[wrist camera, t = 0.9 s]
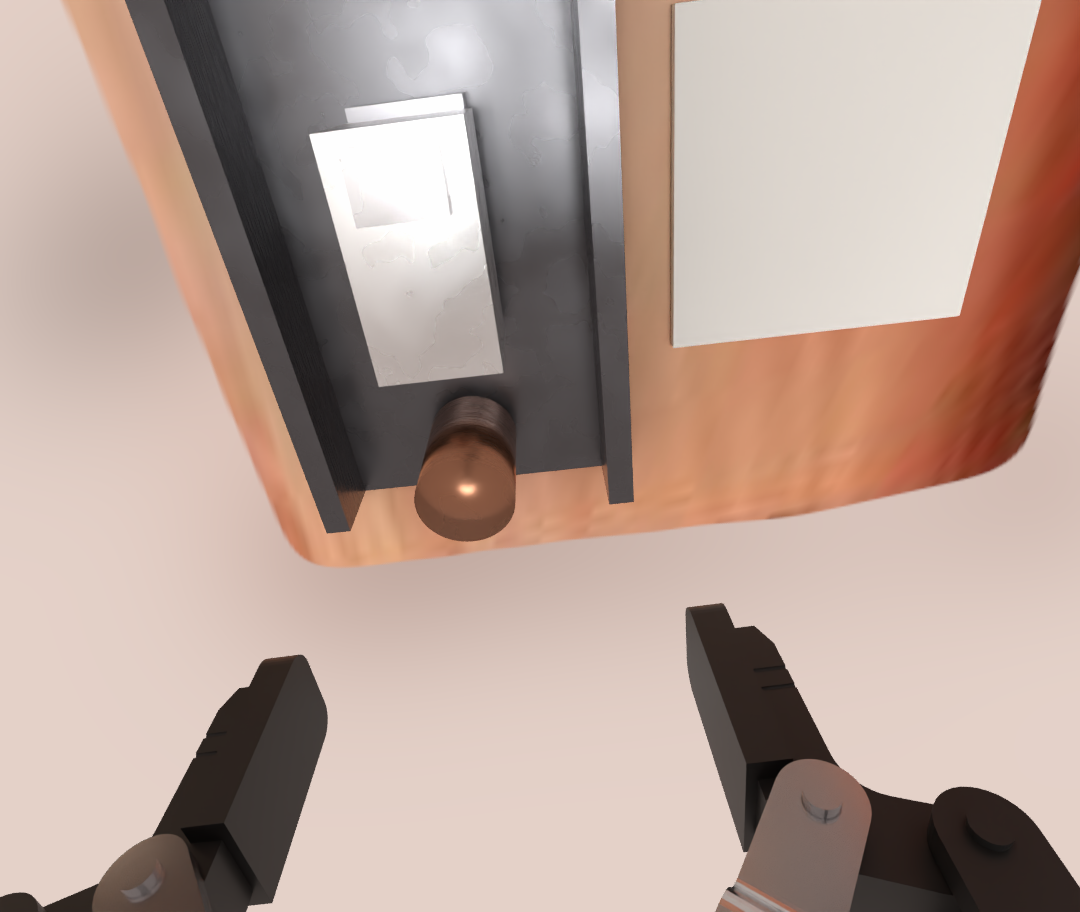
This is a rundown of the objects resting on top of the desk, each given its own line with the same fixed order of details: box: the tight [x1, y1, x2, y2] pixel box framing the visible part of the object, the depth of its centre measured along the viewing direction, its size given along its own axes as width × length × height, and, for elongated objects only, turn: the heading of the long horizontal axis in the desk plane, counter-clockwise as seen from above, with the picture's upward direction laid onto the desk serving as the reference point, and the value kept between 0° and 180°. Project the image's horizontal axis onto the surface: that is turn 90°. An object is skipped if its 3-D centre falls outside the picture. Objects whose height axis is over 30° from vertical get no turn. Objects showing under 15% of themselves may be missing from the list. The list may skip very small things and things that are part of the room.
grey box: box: [309, 108, 506, 387], centre depth 24 cm, size 9×5×5 cm, turn 6°
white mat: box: [671, 0, 1041, 348], centre depth 27 cm, size 14×14×1 cm
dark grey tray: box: [125, 0, 634, 541], centre depth 25 cm, size 26×15×8 cm, turn 6°
